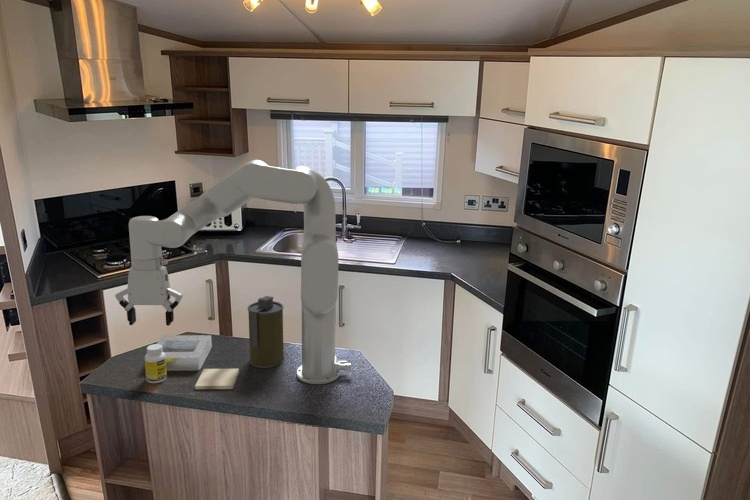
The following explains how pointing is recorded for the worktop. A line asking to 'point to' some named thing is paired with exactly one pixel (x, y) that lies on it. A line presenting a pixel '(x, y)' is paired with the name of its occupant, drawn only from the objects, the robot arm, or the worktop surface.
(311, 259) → the robot arm
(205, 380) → the oak board
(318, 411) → the worktop surface
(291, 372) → the worktop surface
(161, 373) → the supplement bottle
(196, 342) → the socket block
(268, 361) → the canister
